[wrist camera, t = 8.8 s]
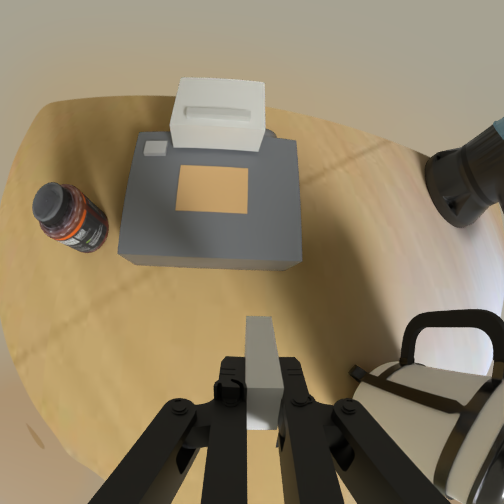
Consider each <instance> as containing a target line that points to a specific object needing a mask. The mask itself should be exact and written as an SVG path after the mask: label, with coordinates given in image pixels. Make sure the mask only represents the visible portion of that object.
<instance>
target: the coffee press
mask: <svg viewBox="0 0 504 504" xmlns="http://www.w3.org/2000/svg"><path fill="white" fill-rule="evenodd" d="M426 327H474V328H478V329H481V330H483V331H484V332H485V333H486V334H487V335H488V336H489V337H490V339H491V341H492V345H493V360H494V366H493V373H492V377H490V376H482V375H475V374H468V373H461V372H455V371H449V370H443V369H437V368H432V367H426V366H425V365H423V364H419V363H414V360H415V359H414V352H415V343H416V339H417V336H418V334H419V333H420V332H421V330H423V329H424V328H426ZM416 364H417V365H416ZM348 373H349V375H350V376H351V377H353V378H354V379H355V380H356V381H358V382H359V383H360V385H359V386H358V388H357V389H356V391H355V393H354V396H353V398H352V399H354V400H356V401H358V402H360V403H361V404H362V405H363V406H364V407H365V409H366V410H367V411H368V412H369V413H370V414H371V415H372V417H373V418H374V419H375V420H376V421H377V422H378V423H379V425H380V426H381V427H382V428H383V429H384V430H385V431H386V432H387V434H388V435H389V436H390V437H391V438H392V439H393V440H394V441H395V443H396V444H397V445H398V446H399V447H400V448H401V449H402V450H403V452H404V453H405V454H406V455H407V456H408V457H409V458H410V459H411V460H412V462H413V463H414V464H415V465H416V466H417V467H418V468H419V469H420V470H421V472H422V473H423V474H424V475H425V476H426V477H427V478H428V479H429V480H430V481H431V482H432V484H433V485H434V486H435V487H436V488H437V489H438V490H439V491H440V492H441V493H442V494H443V496H444V497H446V498H448V499H451V500H452V499H455V500H457V501H459V502H461V503H463V504H504V322H503V320H502V319H501V318H500V317H499V316H497V315H496V314H494V313H493V312H490V311H487V310H482V309H465V310H449V311H435V312H426V313H422V314H419V315H417V316H415V317H414V318H413V319H412V320H411V321H410V322H409V324H408V325H407V327H406V330H405V332H404V336H403V341H402V348H401V357H400V359H399V362H389V363H385V364H383V365H381V366H379V367H377V368H375V369H374V370H373V371H371V372H370V373H367V372H366V371H364V370H363V369H361V368H360V367H358V366H357V365H355V366H354V367H353V368H352V369H351V370H350V371H349V372H348Z"/></svg>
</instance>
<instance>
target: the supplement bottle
mask: <svg viewBox="0 0 504 504" xmlns="http://www.w3.org/2000/svg"><path fill="white" fill-rule="evenodd" d="M32 208H33V214H34V216H35V218H36V219H37V220H39V223H40V227H41V229H42V230H43V232H44V233H45V234H46V235H47V236H49V237H50V238H53V239H54V240H57V241H59V242H61V243H63V244H65V245H67V246H69V247H71V248H73V249H76V250H78V251H80V252H84V253H90V252H94V251H96V250H97V249H99V248H100V247H101V246H102V245H103V243H104V242H105V240H106V238H107V235H108V230H109V225H108V220H107V218H106V216H105V214H104V213H103V212H102V211H101V210H100V209H99V208H98V207H97V206H96V205H95V204H93V203H92V202H91V201H90V200H89V199H88V198H87V197H86V196H85V195H84V194H83V193H82V192H81V191H80V190H79V189H77V188H76V187H75V186H73V185H69V184H62V185H59V184H58V183H55V182H50V183H47V184H45V185H44V186H42V187H41V188H40V189H39V191H38V192H37V194H36V195H35V198H34V200H33V206H32Z"/></svg>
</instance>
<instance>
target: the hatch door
mask: <svg viewBox="0 0 504 504" xmlns="http://www.w3.org/2000/svg"><path fill="white" fill-rule="evenodd" d="M264 88H265V87H264V82H255V81H247V80H236V79H221V78H187V77H186V78H185V77H183V78H181V80H180V84H179V88H178V91H177V95H176V99H175V103H174V107H173V112H172V116H171V121H170V131H171V136H172V142H173V147H174V148H210V149H228V150H242V151H254V152H258V151H259V148H260V145H261V142H262V139H263V136H264V133H265V89H264Z"/></svg>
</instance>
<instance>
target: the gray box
mask: <svg viewBox="0 0 504 504" xmlns="http://www.w3.org/2000/svg"><path fill="white" fill-rule="evenodd" d="M117 254H118V255H120V256H122V257H123V258H125V259H127V260H128V261H130V262H132V263H133V264H135V265H145V266H165V267H187V268H211V269H238V270H269V271H285V270H287V269H289V268H291V267H292V266H294V265H296V264H298V263H300V262H302V231H301V207H300V188H299V172H298V157H297V144H296V140H288V139H281V138H277V136H276V135H275V133H274V132H272V131H271V130H269V129H266V128H265V133H264V136H263V139H262V142H261V145H260V148H259V151H258V152H254V151H242V150H228V149H210V148H174V147H173V142H172V136H171V132H139V135H138V139H137V143H136V147H135V151H134V156H133V160H132V165H131V169H130V174H129V179H128V184H127V189H126V195H125V201H124V207H123V213H122V220H121V227H120V235H119V244H118V253H117Z"/></svg>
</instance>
